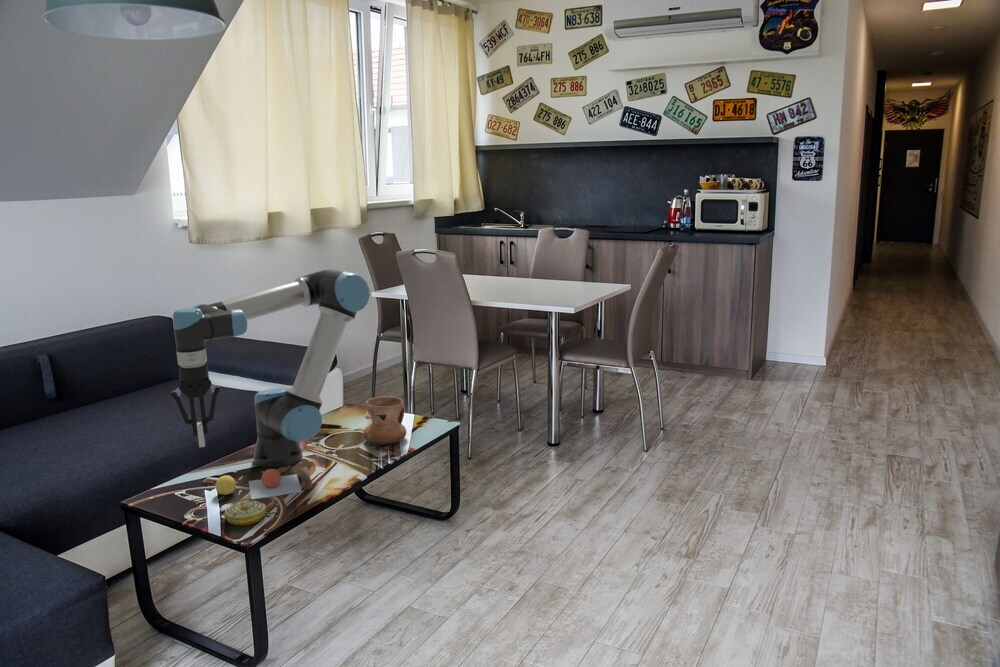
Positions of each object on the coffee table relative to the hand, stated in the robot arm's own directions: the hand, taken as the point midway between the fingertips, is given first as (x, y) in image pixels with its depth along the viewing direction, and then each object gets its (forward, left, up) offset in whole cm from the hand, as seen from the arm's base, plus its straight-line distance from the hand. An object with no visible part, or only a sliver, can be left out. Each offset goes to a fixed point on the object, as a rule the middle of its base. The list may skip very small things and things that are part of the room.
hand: (202, 445), depth 222 cm
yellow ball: (-5, 0, -13) cm, 14 cm away
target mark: (-19, 0, -15) cm, 24 cm away
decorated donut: (-10, +19, -16) cm, 27 cm away
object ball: (-18, 0, -13) cm, 22 cm away
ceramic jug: (-58, -27, -16) cm, 66 cm away
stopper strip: (-28, 0, -15) cm, 32 cm away
